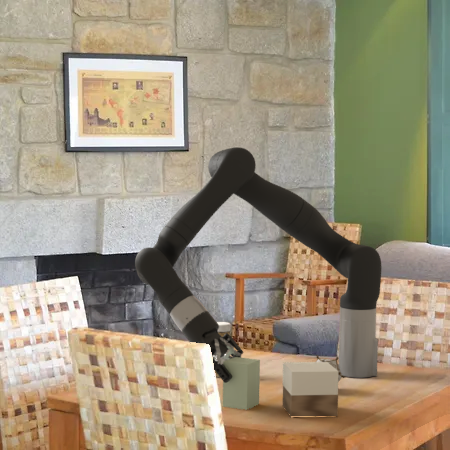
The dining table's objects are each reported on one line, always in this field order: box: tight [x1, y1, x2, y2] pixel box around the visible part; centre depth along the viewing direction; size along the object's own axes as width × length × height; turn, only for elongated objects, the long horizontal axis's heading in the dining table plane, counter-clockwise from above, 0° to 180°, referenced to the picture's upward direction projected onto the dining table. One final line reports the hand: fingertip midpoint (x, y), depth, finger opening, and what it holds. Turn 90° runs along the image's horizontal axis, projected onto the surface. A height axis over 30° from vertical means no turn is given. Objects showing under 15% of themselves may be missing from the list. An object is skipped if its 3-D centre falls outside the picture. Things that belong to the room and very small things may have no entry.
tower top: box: [282, 361, 339, 396], centre depth 207 cm, size 10×10×5 cm
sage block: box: [222, 356, 261, 411], centre depth 212 cm, size 6×6×10 cm
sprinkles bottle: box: [215, 321, 232, 378], centre depth 241 cm, size 5×5×14 cm
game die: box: [315, 355, 346, 383], centre depth 227 cm, size 9×8×10 cm
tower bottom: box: [282, 385, 339, 417], centre depth 207 cm, size 10×10×5 cm
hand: (238, 376), depth 212 cm, fingers open, 8 cm apart
